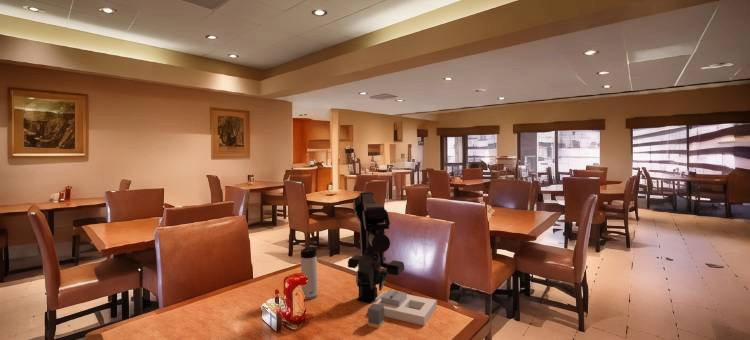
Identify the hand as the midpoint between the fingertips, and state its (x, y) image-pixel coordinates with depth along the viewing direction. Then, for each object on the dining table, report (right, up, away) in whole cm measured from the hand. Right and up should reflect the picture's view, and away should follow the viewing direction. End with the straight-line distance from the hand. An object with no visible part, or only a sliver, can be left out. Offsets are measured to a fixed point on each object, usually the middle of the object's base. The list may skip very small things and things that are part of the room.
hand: (375, 289), depth 116 cm
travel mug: (-27, -11, +23) cm, 37 cm away
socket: (+10, -11, +10) cm, 18 cm away
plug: (0, -12, +1) cm, 12 cm away
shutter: (+7, -8, +12) cm, 16 cm away
